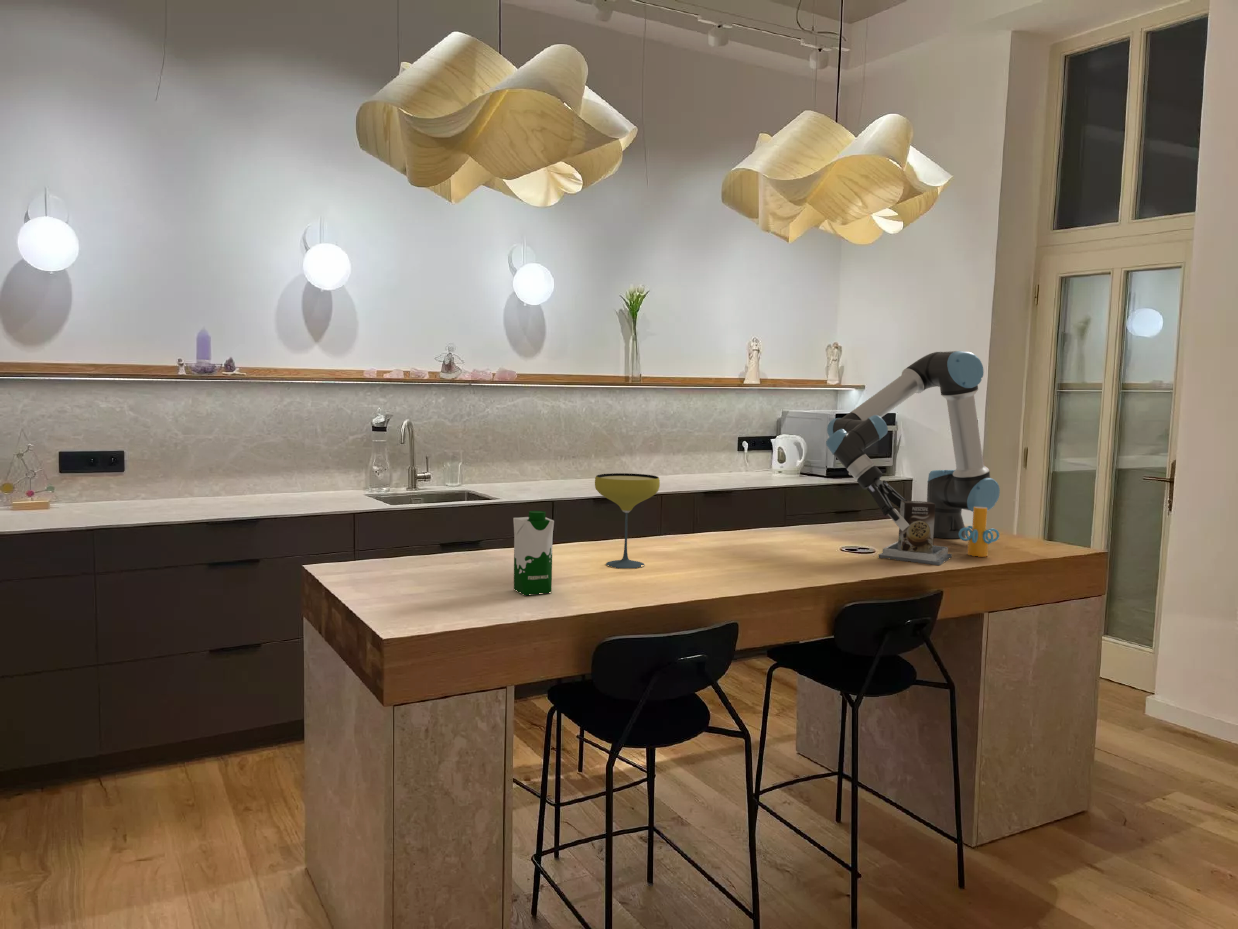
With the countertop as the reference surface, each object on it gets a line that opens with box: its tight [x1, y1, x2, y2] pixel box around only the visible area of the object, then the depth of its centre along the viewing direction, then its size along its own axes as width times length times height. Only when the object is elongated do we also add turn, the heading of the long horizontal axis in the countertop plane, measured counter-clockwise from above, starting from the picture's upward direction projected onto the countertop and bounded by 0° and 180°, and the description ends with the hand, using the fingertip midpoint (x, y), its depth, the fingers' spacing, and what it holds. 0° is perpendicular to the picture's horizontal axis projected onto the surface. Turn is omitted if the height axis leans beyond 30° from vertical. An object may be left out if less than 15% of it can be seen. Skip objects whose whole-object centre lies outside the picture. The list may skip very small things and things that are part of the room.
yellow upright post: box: [959, 507, 1000, 558], centre depth 290 cm, size 12×10×15 cm
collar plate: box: [877, 541, 952, 566], centre depth 284 cm, size 16×18×3 cm
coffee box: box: [897, 500, 935, 554], centre depth 284 cm, size 9×6×16 cm
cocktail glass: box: [594, 472, 661, 569], centre depth 262 cm, size 18×18×25 cm
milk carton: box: [512, 510, 555, 596], centre depth 227 cm, size 9×9×20 cm
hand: (911, 525), depth 284 cm, fingers open, 13 cm apart
